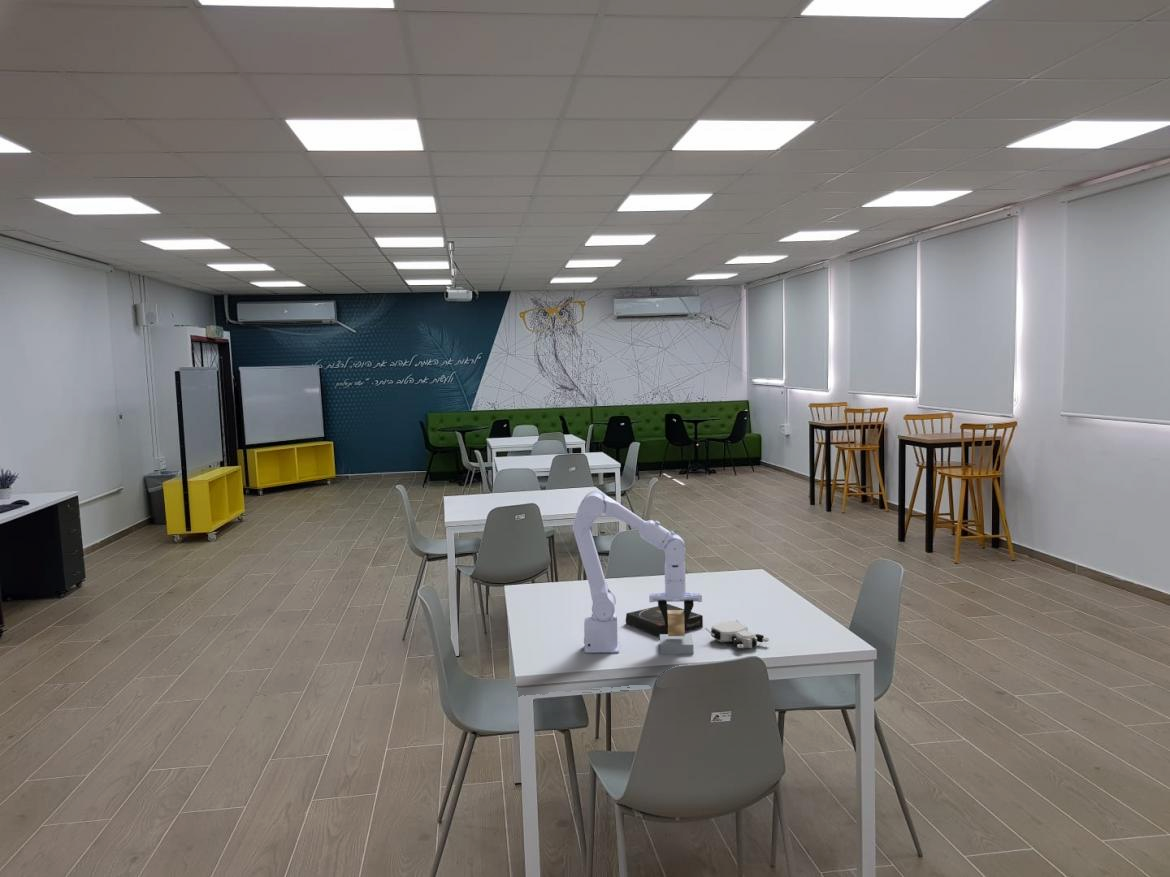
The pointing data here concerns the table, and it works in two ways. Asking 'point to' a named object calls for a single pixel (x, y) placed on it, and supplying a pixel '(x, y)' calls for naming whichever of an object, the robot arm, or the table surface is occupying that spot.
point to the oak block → (676, 623)
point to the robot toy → (736, 634)
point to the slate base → (676, 644)
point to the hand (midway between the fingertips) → (676, 626)
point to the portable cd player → (659, 620)
